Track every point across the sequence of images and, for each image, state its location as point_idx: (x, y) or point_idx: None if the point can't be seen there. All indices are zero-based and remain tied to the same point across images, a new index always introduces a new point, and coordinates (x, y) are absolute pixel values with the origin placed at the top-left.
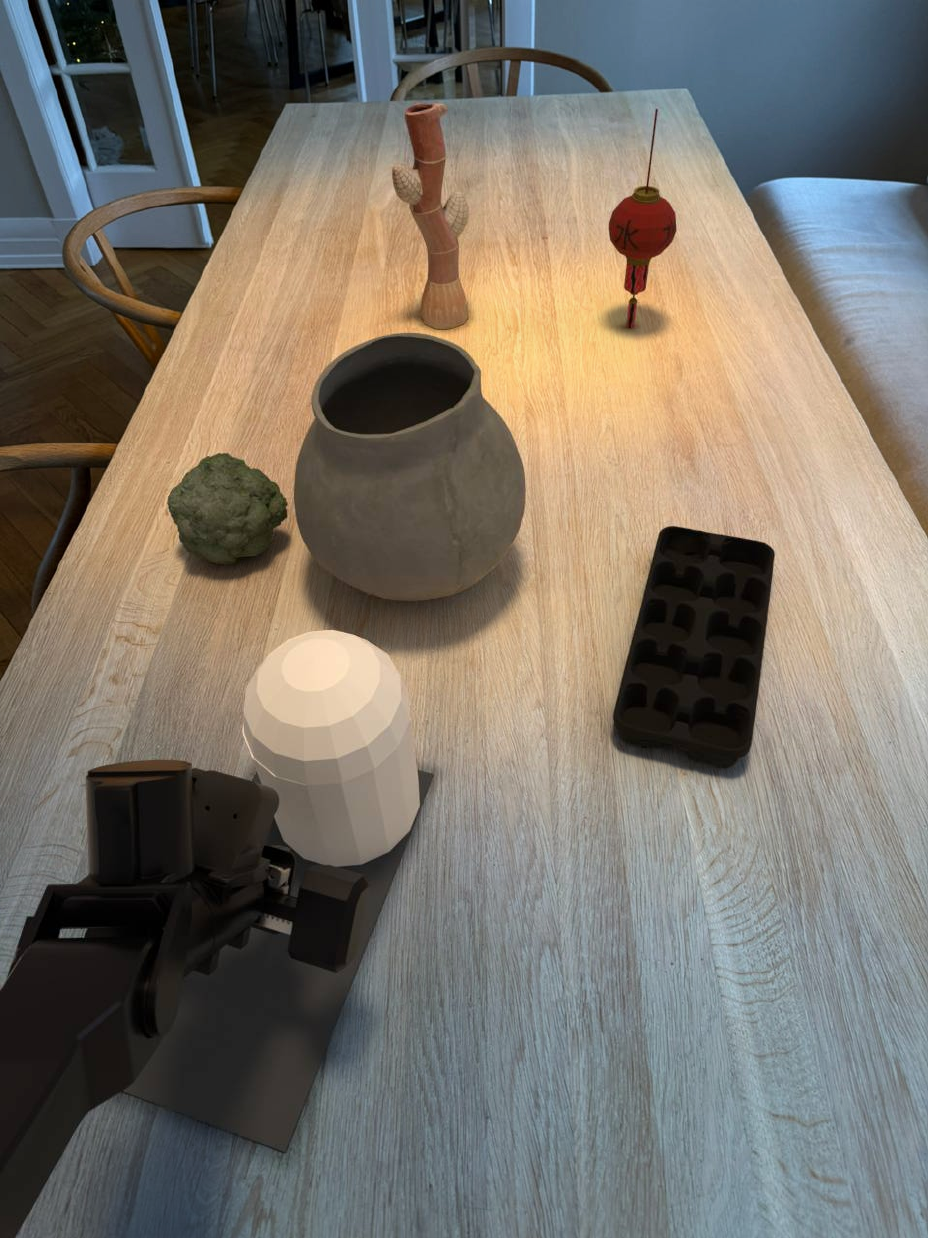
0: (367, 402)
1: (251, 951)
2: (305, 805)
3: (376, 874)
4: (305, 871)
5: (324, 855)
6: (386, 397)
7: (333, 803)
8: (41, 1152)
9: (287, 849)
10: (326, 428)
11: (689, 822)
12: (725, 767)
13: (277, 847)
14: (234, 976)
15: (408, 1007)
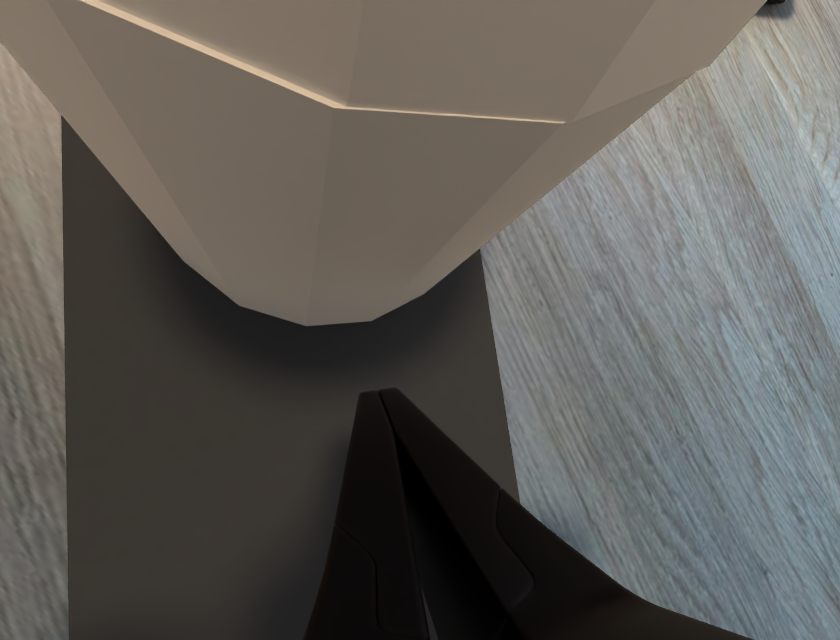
0: None
1: (308, 561)
2: (427, 230)
3: (458, 301)
4: (324, 350)
5: (370, 312)
6: None
7: (535, 190)
8: None
9: (413, 406)
10: None
11: (775, 87)
12: (782, 2)
13: (381, 421)
14: (303, 630)
15: (612, 491)
